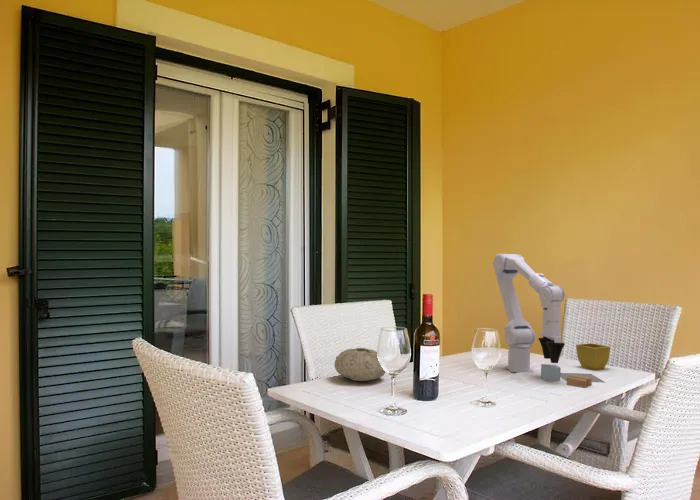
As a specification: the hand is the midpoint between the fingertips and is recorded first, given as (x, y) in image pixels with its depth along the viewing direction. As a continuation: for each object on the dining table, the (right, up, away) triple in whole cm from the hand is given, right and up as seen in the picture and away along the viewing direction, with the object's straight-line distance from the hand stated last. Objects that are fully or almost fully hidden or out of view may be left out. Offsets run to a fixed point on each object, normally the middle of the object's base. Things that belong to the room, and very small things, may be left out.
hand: (550, 360), depth 183 cm
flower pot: (+23, -8, +20) cm, 31 cm away
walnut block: (+7, -7, -7) cm, 12 cm away
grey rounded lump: (-66, -6, -4) cm, 66 cm away
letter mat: (+11, -7, +3) cm, 14 cm away
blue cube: (0, -7, 0) cm, 7 cm away
